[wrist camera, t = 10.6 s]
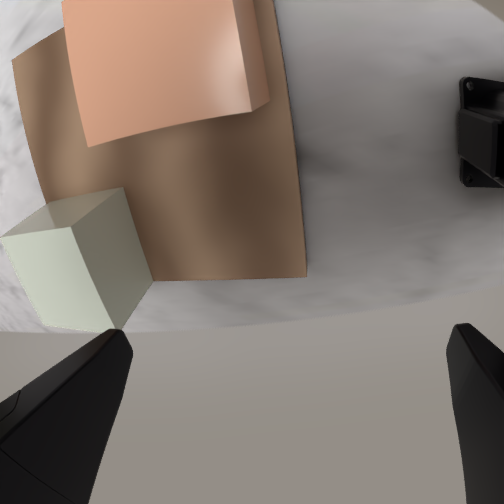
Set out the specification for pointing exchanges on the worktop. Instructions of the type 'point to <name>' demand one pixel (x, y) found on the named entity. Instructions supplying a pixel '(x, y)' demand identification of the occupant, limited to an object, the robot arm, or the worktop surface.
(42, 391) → the robot arm
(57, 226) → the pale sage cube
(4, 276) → the worktop surface
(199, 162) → the walnut board
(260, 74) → the salmon foam cube
